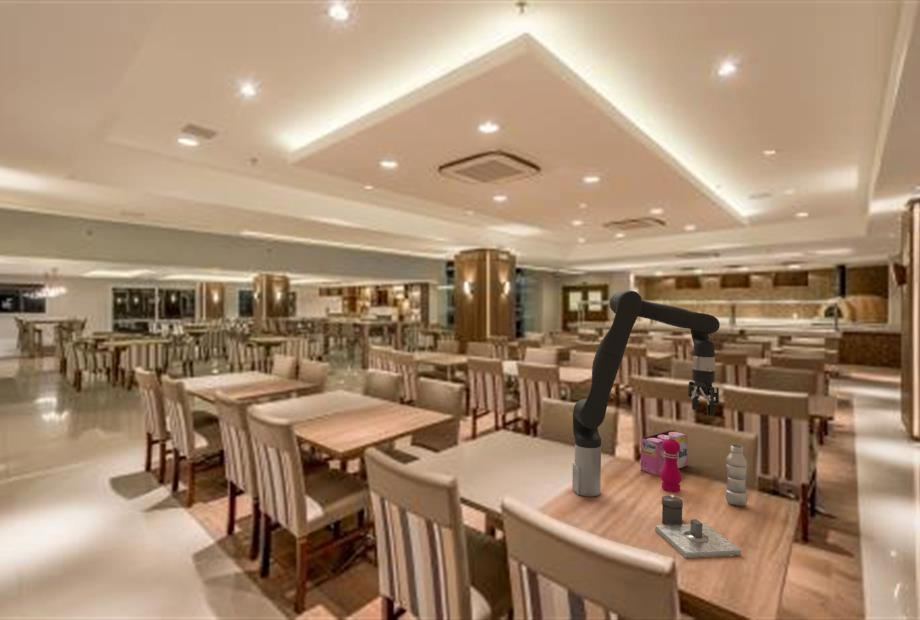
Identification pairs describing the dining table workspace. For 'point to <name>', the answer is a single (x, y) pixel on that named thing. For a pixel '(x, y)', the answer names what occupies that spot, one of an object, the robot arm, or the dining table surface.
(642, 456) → the gum box
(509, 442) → the dining table surface
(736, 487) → the plastic bottle
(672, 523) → the knob
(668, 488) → the pepper mill
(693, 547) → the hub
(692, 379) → the robot arm
